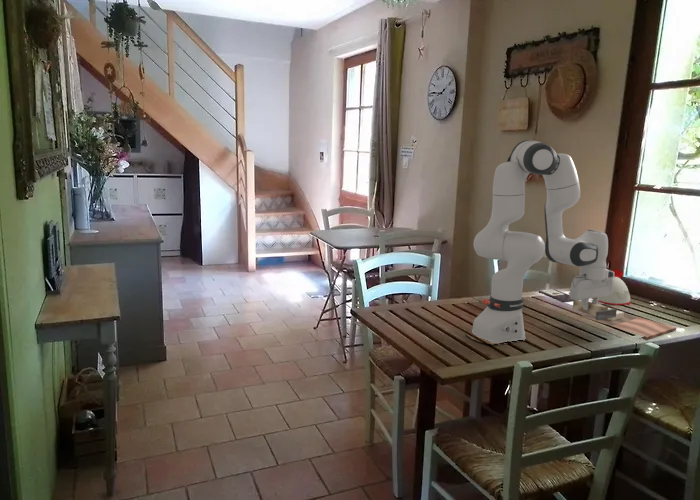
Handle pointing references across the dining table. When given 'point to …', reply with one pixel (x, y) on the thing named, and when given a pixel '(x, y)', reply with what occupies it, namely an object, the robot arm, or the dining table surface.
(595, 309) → the squeegee
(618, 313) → the tile
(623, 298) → the kitchen timer
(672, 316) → the dining table surface
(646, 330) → the board
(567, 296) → the chocolate bar
